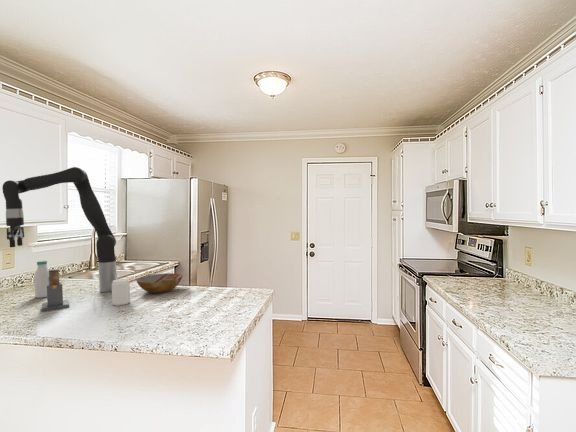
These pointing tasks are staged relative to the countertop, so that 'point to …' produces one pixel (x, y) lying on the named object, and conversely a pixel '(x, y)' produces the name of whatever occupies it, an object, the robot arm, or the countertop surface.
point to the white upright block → (120, 292)
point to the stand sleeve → (54, 298)
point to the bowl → (159, 282)
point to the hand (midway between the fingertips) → (16, 246)
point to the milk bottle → (41, 279)
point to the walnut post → (54, 276)
